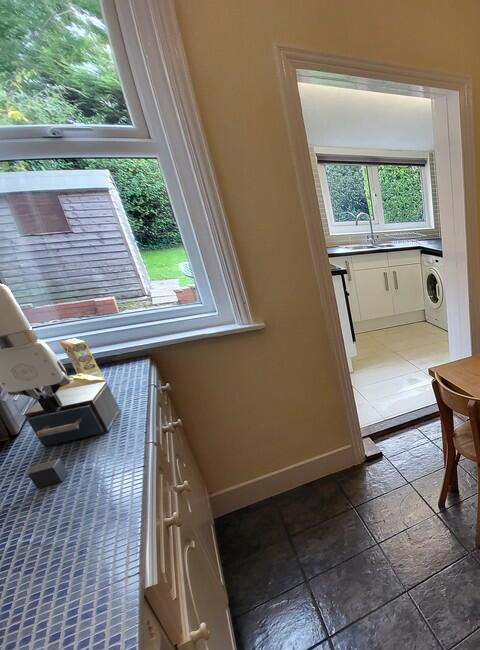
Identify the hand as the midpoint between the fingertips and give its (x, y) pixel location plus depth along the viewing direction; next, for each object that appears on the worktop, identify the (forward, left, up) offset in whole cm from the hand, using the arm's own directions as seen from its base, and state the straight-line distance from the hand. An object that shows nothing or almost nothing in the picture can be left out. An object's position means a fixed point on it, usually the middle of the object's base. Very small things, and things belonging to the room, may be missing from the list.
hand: (55, 410), depth 101 cm
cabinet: (0, +11, -10) cm, 15 cm away
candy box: (-7, +53, -10) cm, 54 cm away
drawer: (0, +6, -9) cm, 11 cm away
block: (+1, -18, -10) cm, 21 cm away
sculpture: (-3, +27, -10) cm, 29 cm away
